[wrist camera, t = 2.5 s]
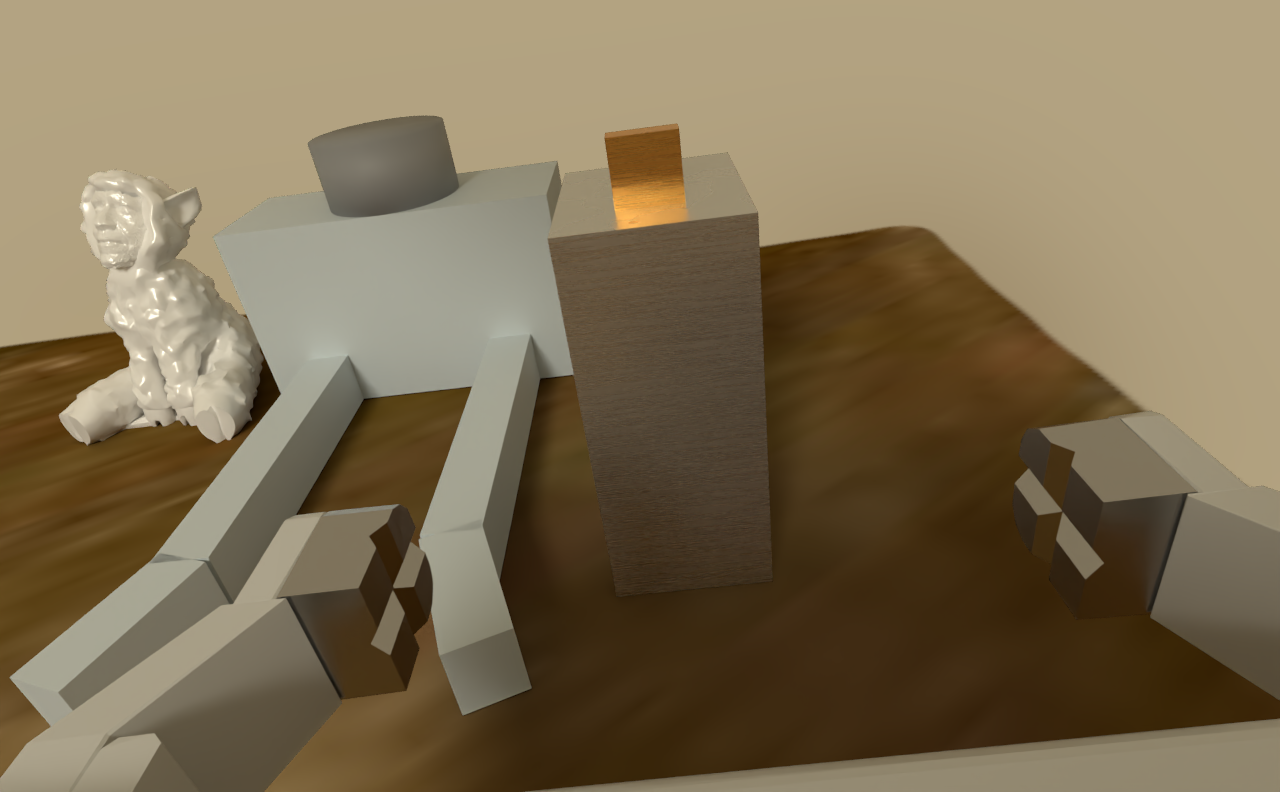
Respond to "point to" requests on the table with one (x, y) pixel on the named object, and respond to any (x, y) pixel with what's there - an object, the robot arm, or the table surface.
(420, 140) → the bracket
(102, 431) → the white creature statuette
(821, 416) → the table surface
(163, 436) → the table surface
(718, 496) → the block
